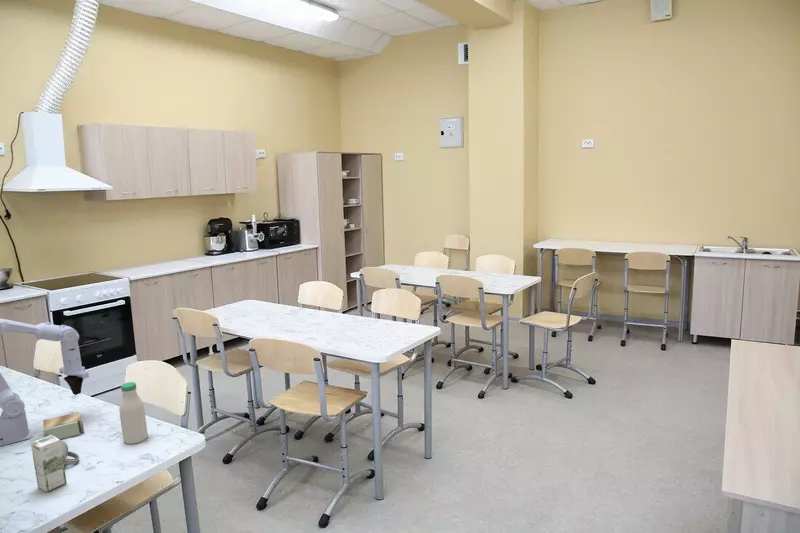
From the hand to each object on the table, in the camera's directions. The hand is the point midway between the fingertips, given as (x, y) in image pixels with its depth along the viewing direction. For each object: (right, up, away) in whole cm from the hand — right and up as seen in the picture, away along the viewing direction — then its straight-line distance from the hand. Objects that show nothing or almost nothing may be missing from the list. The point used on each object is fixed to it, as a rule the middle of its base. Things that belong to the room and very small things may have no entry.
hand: (77, 393), depth 216 cm
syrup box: (+17, -18, -44) cm, 50 cm away
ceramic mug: (+12, -16, -32) cm, 38 cm away
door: (+3, -12, -14) cm, 19 cm away
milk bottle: (+29, -12, -17) cm, 36 cm away
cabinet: (+1, -12, -10) cm, 15 cm away
